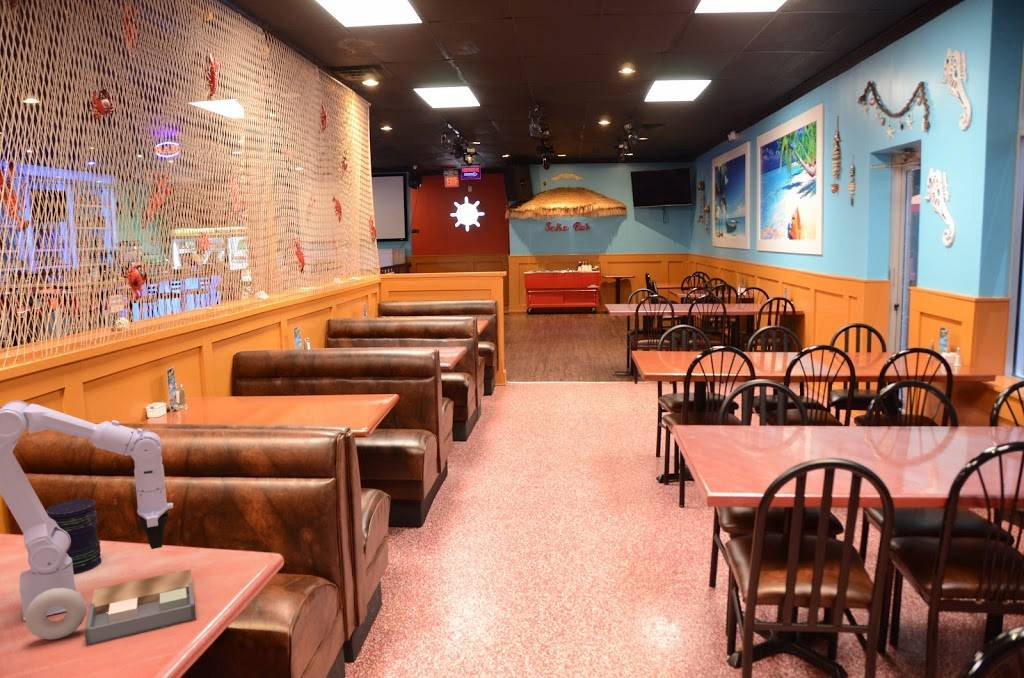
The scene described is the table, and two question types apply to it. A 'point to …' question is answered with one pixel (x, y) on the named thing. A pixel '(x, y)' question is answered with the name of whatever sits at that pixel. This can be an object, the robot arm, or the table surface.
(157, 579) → the oak board
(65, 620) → the donut
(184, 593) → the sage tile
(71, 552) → the storage jar
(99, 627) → the box
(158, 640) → the table surface
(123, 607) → the cream tile
